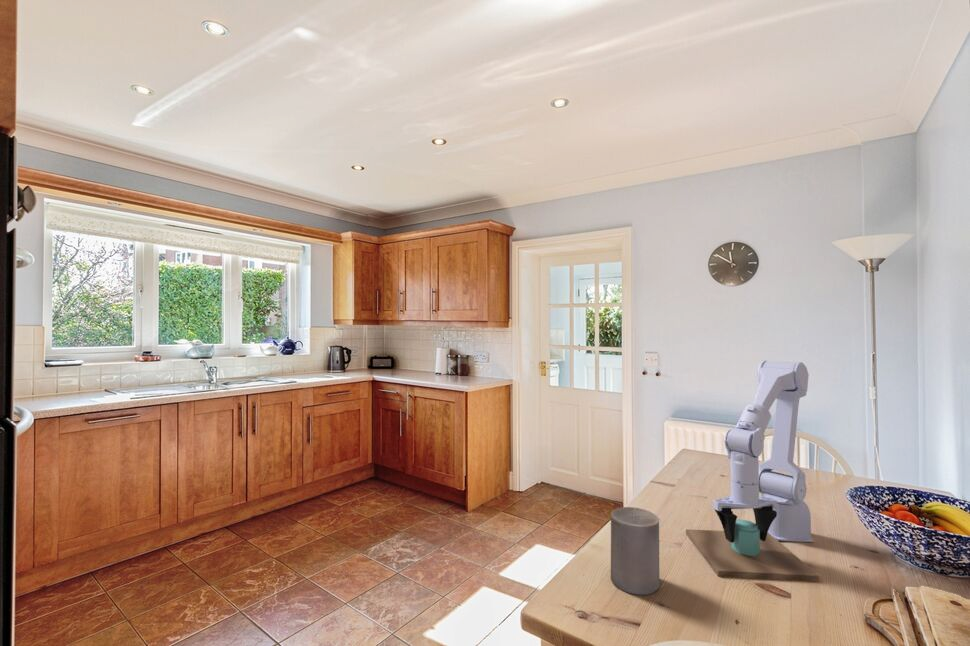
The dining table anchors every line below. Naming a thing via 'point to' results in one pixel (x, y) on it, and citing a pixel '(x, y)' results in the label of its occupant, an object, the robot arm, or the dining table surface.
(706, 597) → the dining table surface
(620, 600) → the dining table surface
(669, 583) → the dining table surface
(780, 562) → the brown flat square slab
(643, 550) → the pillar candle
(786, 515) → the robot arm
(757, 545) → the cap
